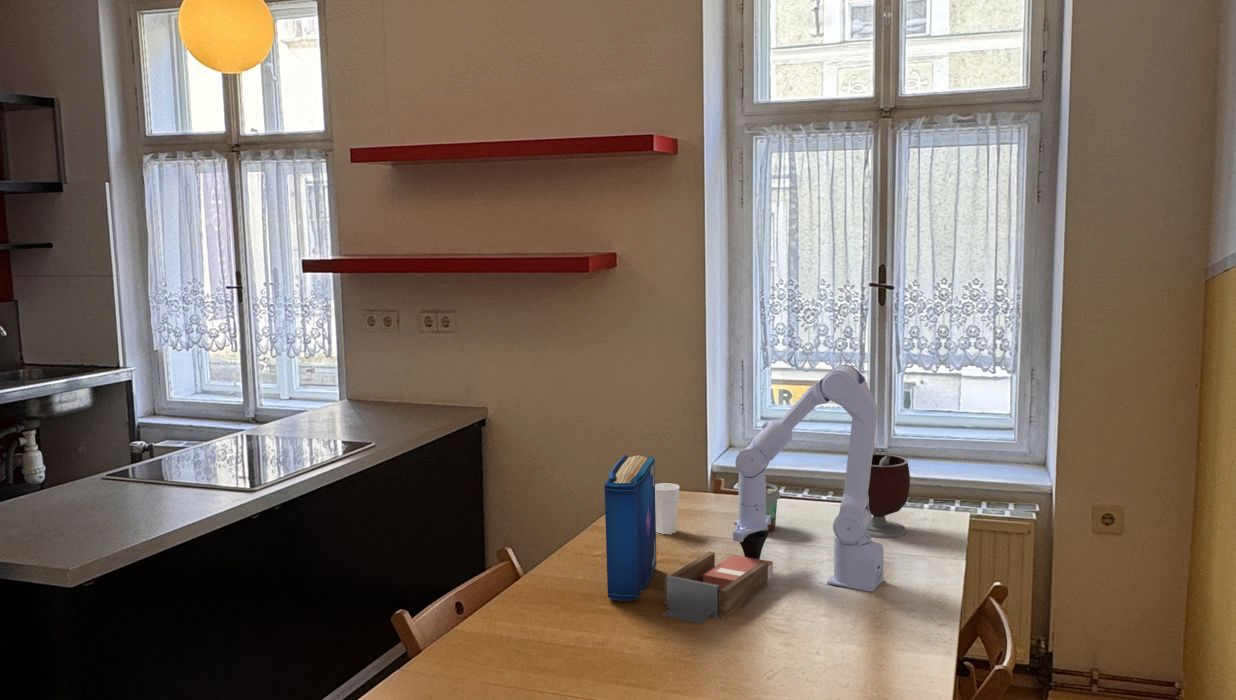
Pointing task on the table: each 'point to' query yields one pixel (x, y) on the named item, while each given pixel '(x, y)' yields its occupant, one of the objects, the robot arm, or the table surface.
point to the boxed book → (733, 570)
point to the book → (630, 527)
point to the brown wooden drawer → (734, 591)
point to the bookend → (692, 599)
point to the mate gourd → (887, 493)
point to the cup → (666, 507)
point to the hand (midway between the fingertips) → (752, 565)
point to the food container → (771, 505)
